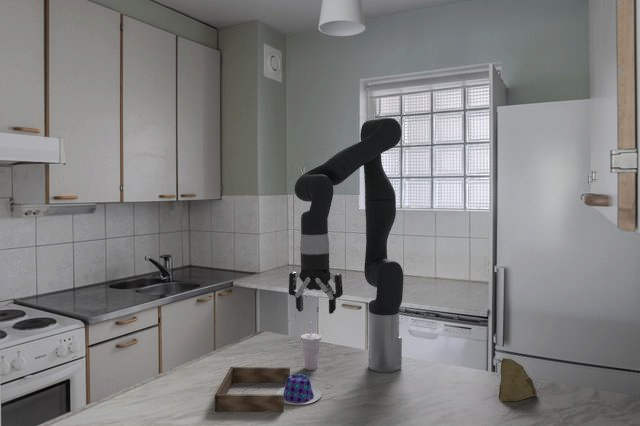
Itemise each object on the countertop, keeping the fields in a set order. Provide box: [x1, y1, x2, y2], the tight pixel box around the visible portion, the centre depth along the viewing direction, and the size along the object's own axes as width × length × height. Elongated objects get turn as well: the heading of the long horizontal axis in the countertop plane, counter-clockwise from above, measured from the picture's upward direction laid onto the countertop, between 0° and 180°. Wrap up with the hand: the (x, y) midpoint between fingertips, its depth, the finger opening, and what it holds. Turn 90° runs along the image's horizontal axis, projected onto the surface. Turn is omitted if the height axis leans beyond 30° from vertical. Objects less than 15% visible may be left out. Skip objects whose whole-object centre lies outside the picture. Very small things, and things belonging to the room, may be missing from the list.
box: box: [214, 366, 291, 413], centre depth 125 cm, size 17×19×4 cm
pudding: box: [275, 373, 322, 405], centre depth 125 cm, size 12×12×5 cm
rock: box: [498, 357, 538, 403], centre depth 124 cm, size 11×9×10 cm
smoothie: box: [300, 321, 322, 371], centre depth 145 cm, size 6×6×14 cm
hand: (315, 311), depth 126 cm, fingers open, 8 cm apart
